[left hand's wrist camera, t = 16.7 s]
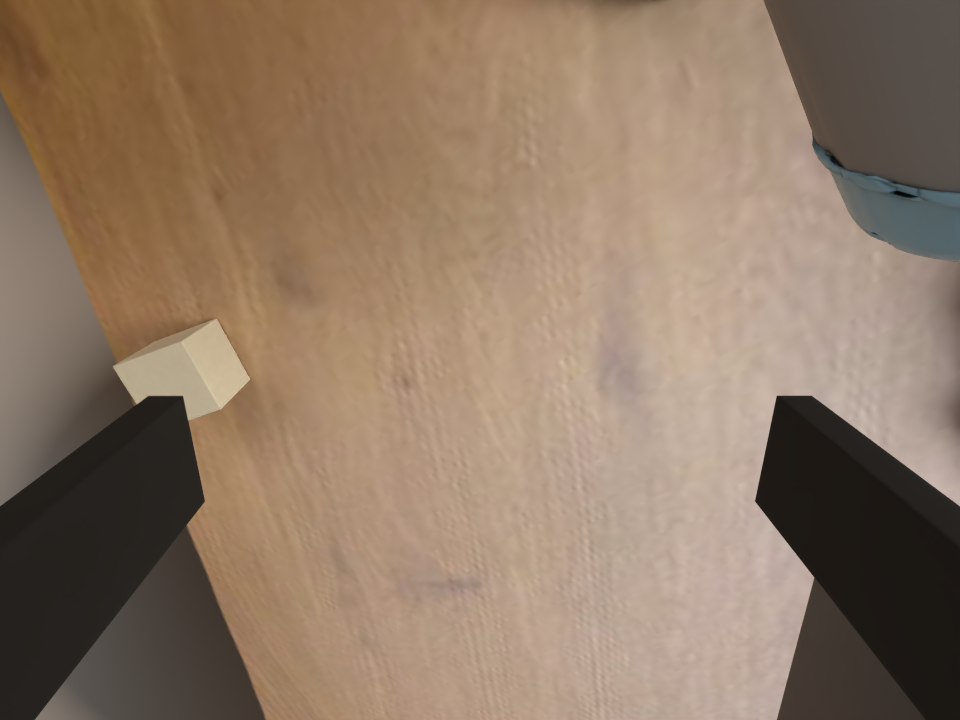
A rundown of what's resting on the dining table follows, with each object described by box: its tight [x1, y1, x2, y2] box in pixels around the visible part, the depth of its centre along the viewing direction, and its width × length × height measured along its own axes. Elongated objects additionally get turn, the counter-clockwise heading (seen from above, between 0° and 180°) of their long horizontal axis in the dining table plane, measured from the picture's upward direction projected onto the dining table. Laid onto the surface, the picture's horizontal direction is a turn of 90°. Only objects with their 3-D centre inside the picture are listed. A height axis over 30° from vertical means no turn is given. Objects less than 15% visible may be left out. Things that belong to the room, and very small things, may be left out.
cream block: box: [113, 319, 250, 421], centre depth 38 cm, size 5×5×5 cm
